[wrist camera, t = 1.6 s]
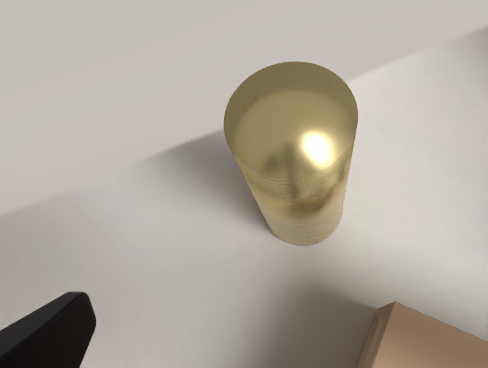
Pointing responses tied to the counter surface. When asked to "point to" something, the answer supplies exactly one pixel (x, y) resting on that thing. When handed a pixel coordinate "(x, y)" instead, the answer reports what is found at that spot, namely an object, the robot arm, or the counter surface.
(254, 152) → the brass cylinder
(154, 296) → the counter surface
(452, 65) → the counter surface
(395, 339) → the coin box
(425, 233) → the counter surface
